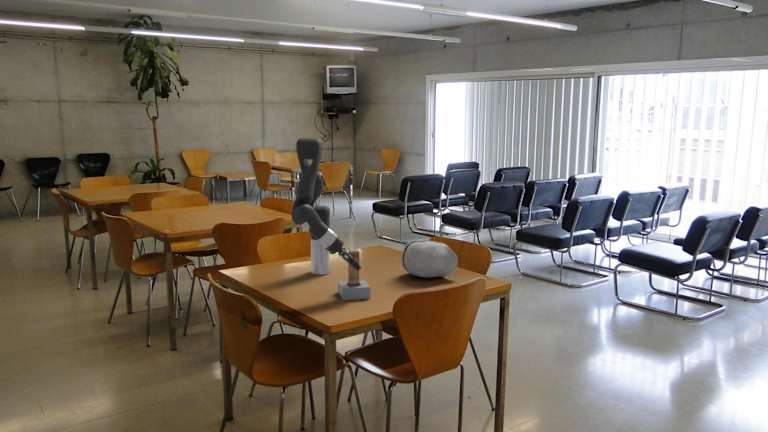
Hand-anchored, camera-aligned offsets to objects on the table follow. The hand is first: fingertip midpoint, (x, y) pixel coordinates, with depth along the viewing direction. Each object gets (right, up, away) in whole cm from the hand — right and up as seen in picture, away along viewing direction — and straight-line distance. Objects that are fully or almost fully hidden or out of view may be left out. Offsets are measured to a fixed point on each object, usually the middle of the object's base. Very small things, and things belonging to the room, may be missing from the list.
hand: (358, 267), depth 261 cm
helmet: (+34, -7, +36) cm, 50 cm away
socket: (-2, -12, +2) cm, 12 cm away
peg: (-2, -7, +1) cm, 7 cm away
